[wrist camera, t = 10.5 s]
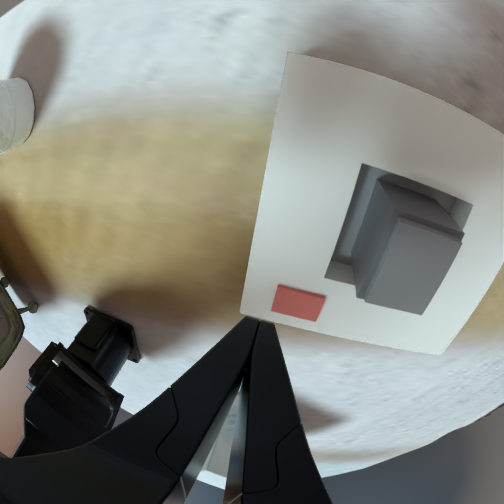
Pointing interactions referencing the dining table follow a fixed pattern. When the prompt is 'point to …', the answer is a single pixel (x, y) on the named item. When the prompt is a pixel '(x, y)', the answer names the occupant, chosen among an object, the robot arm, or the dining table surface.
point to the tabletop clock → (10, 323)
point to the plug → (403, 248)
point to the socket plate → (357, 199)
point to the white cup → (15, 113)
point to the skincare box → (220, 452)
